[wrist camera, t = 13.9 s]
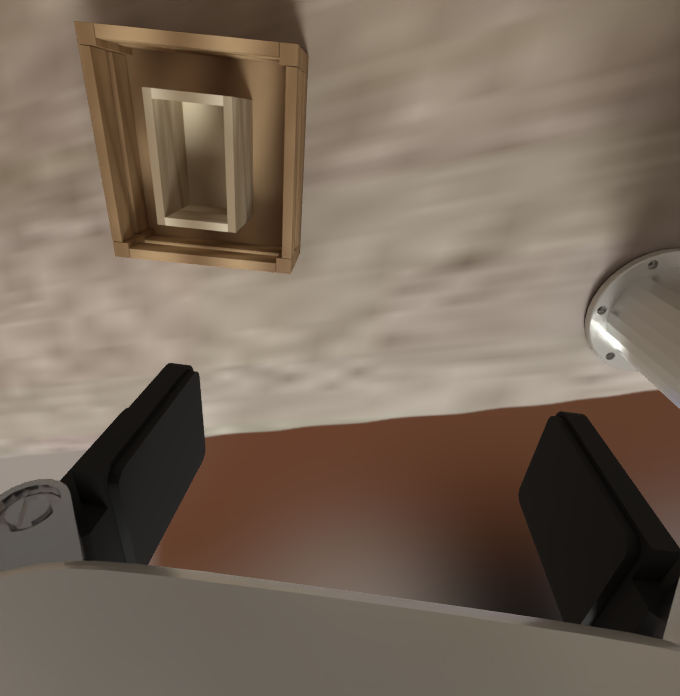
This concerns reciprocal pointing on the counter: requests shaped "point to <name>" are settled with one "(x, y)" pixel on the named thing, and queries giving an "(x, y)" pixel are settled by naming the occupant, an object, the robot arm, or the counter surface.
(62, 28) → the counter surface
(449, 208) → the counter surface
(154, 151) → the small crate
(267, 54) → the crate
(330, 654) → the robot arm
